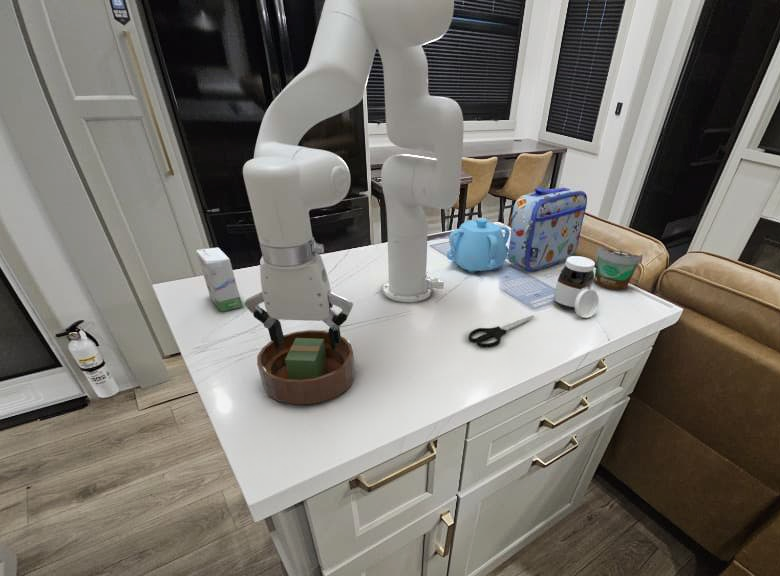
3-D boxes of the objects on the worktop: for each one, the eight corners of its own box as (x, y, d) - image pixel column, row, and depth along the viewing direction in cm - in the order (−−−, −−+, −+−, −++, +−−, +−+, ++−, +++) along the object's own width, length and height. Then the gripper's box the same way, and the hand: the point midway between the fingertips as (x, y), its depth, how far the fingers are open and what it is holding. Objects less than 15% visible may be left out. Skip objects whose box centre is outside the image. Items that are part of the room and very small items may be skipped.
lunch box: (525, 278, 119) (540, 197, 106) (498, 266, 125) (509, 188, 112) (578, 258, 135) (597, 185, 121) (552, 248, 141) (567, 177, 127)
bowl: (360, 355, 84) (358, 331, 81) (347, 408, 71) (344, 383, 68) (279, 352, 83) (273, 328, 80) (250, 405, 70) (243, 379, 67)
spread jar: (563, 293, 113) (573, 251, 106) (603, 306, 108) (617, 263, 101) (544, 309, 105) (554, 264, 98) (587, 324, 100) (600, 278, 93)
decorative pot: (490, 281, 116) (497, 232, 108) (440, 267, 122) (443, 220, 113) (511, 263, 128) (519, 218, 120) (465, 251, 133) (469, 207, 125)
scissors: (521, 311, 103) (463, 337, 92) (521, 308, 102) (463, 334, 91) (542, 322, 99) (485, 351, 88) (543, 319, 98) (485, 347, 87)
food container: (586, 286, 118) (596, 251, 112) (588, 278, 122) (598, 244, 116) (631, 295, 114) (644, 260, 108) (632, 287, 119) (644, 253, 113)
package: (327, 365, 80) (323, 338, 76) (319, 388, 74) (314, 360, 71) (301, 364, 79) (295, 337, 76) (291, 387, 74) (284, 359, 70)
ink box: (243, 307, 97) (230, 258, 89) (221, 312, 94) (205, 262, 87) (231, 293, 102) (218, 245, 94) (210, 298, 99) (194, 249, 92)
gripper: (350, 243, 66) (359, 334, 77) (239, 239, 65) (264, 331, 76) (342, 263, 60) (353, 358, 71) (219, 258, 59) (250, 355, 70)
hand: (307, 344), depth 74 cm, fingers open, 9 cm apart
